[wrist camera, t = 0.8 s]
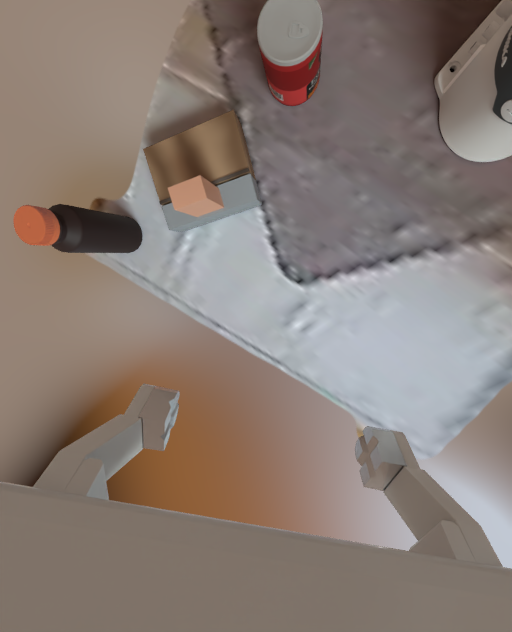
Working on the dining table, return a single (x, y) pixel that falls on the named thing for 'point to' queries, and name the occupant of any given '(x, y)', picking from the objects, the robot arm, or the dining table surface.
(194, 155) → the block
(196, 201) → the stub
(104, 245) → the bottle
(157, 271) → the dining table surface
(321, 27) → the canned food
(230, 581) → the robot arm
